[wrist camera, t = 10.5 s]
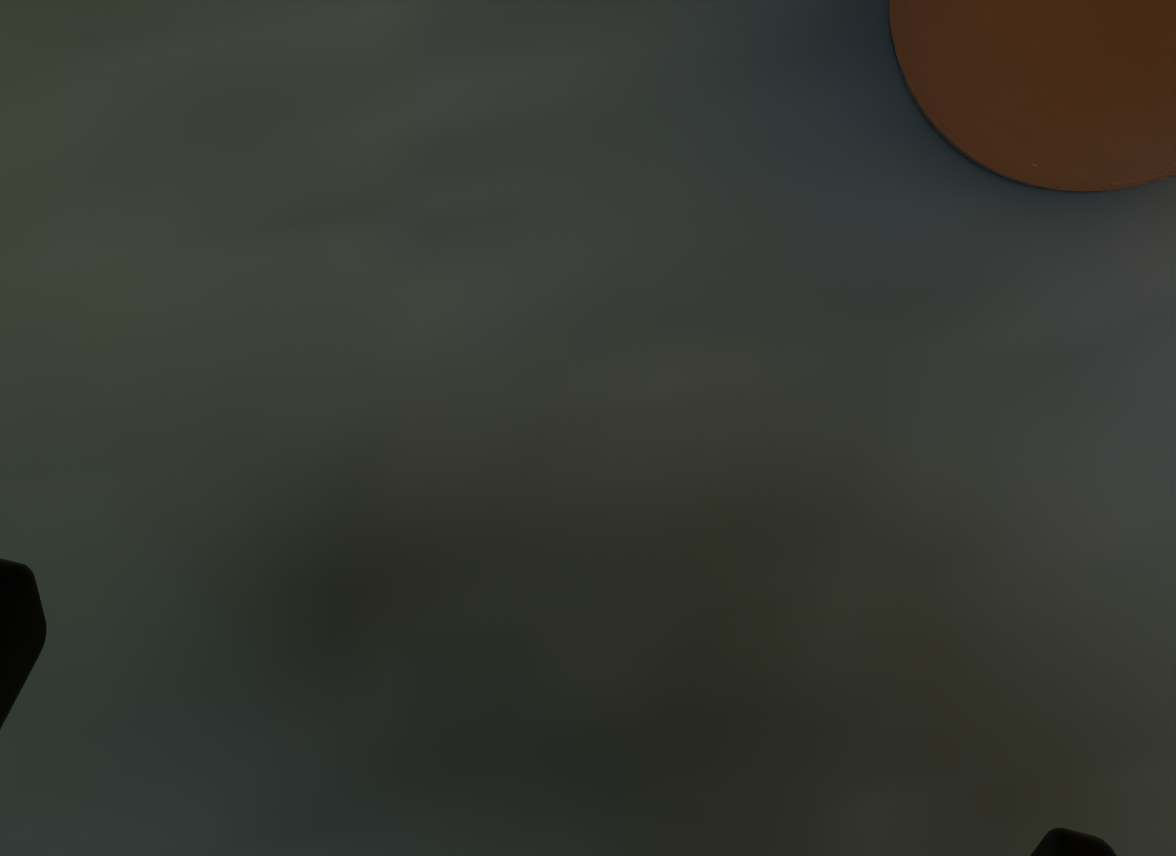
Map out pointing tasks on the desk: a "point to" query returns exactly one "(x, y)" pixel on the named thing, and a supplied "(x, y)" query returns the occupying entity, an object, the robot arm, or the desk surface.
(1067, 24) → the tin can
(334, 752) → the desk surface
